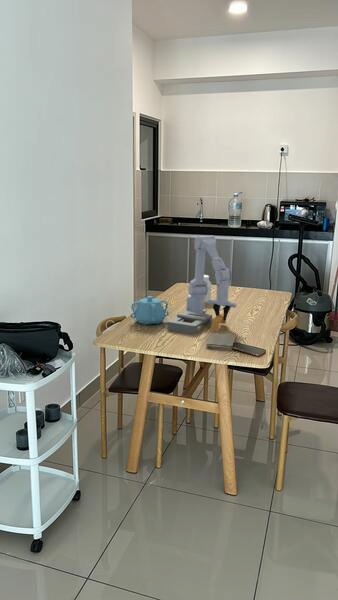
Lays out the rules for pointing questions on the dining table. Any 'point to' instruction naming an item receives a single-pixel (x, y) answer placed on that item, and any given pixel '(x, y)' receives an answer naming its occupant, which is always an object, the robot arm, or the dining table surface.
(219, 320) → the notched orange plank
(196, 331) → the grey frame
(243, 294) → the dining table surface
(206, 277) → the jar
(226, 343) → the washcloth
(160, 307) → the decorative pot
